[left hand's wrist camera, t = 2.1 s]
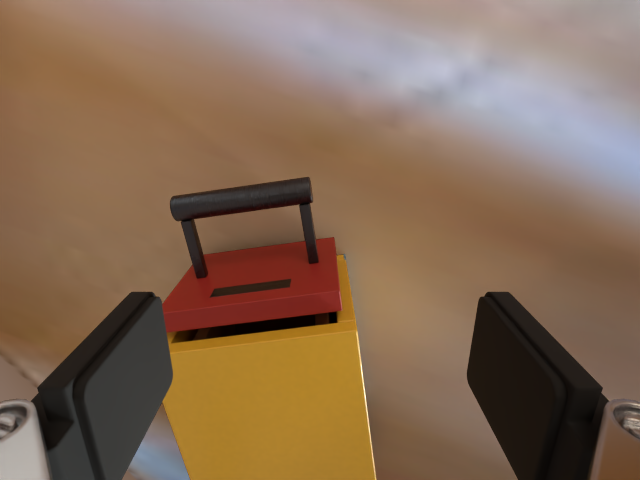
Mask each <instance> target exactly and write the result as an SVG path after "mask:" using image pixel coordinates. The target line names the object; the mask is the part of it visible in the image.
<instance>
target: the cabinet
mask: <svg viewBox="0 0 640 480" xmlns="http://www.w3.org/2000/svg"><path fill="white" fill-rule="evenodd" d="M337 264H338V273H339V282H340V291H341V301H342V311H336V312H333V319H334V323H332V324H324V325H316V326H308V327H300V328H292V329H284V330H276V331H268V332H260V333H252V334H243V335H235V336H227V337H219V338H211V339H203V340H195V341H192V340H193V338H194V337H195V335H196V333H197V331H198V329H192V330H184V331H176V332H168V333H167V338H168V344H169V350H170V357H171V363H172V369H173V380H172V384H171V386H170V388H169V390H168V392H167V394H166V396H165V398H164V399H163V401H162V403H163V405H164V408H165V411H166V414H167V416H168V419H169V422H170V425H171V427H172V430H173V433H174V436H175V439H176V441H177V444H178V447H179V450H180V452H181V455H182V458H183V461H184V464H185V466H186V469H187V472H188V475H189V477H190V480H376V474H375V466H374V458H373V450H372V442H371V434H370V427H369V419H368V411H367V403H366V395H365V387H364V379H363V371H362V363H361V356H360V348H359V340H358V332H357V326H356V320H355V314H354V307H353V301H352V295H351V289H350V283H349V277H348V271H347V265H346V258H345V254H343V255H337Z"/></svg>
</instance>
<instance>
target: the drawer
mask: <svg viewBox="0 0 640 480" xmlns="http://www.w3.org/2000/svg"><path fill="white" fill-rule="evenodd" d="M312 202H313V194H312V187H311V181H310V178H309V177H304V178H297V179H290V180H283V181H276V182H269V183H262V184H255V185H248V186H241V187H234V188H227V189H220V190H213V191H206V192H199V193H192V194H185V195H178V196H173V197H172V198H171V200H170V209H171V213H172V216H173V218H174V219H175V220H176V221H182V222H181V224H182V228H183V231H184V235H185V239H186V242H187V246H188V249H189V253H190V256H191V260H192V263H193V265H192V266H191V267H190V269H189V270H188V271H187V273H186V274H185V275H184V277H183V278H182V279H181V280H180V282H179V283H178V284H177V286H176V287H175V288H174V290H173V291H172V292H171V294H170V295H169V296H168V297H167V299H166V300H165V301H164V303H163V304H162V307H163V313H164V320H165V326H166V332H167V333H168V332H176V331H184V330H192V329H198V331H197V333H196V335H195V337H194V338H193V340H192V341H195V340H203V339H211V338H219V337H227V336H235V335H243V334H252V333H260V332H268V331H276V330H284V329H292V328H300V327H308V326H316V325H324V324H332V323H334V319H333V312H336V311H342V301H341V291H340V282H339V273H338V264H337V255H336V247H335V240H334V237H332V238H325V239H317V240H316V238H315V232H314V225H313V219H312V212H311V206H310V203H312ZM299 204H300V205H299ZM292 205H299V207H300V213H301V219H302V225H303V231H304V237H305V241H302V242H295V243H287V244H280V245H272V246H265V247H258V248H250V249H243V250H235V251H228V252H220V253H213V254H205V255H203V252H202V248H201V244H200V240H199V237H198V233H197V229H196V225H195V222H194V219H198V218H206V217H213V216H220V215H227V214H234V213H242V212H249V211H256V210H263V209H270V208H278V207H285V206H292Z"/></svg>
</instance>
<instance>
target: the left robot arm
mask: <svg viewBox="0 0 640 480" xmlns="http://www.w3.org/2000/svg"><path fill="white" fill-rule="evenodd" d="M172 380H173V369H172V363H171V357H170V350H169V344H168V338H167V332H166V326H165V320H164V313H163V307H162V302H161V299H160V297H155V294H154V293H153V292H131V293H130V294H129V295H128V296H127V297H126V298H125V299H124V300H123V301H122V302H121V303H120V304H119V305H118V306H117V307H116V308H115V309H114V310H113V311H112V312H111V313H110V314H109V315H108V316H107V317H106V318H105V319H104V320H103V321H102V322H101V323H100V324H99V325H98V326H97V327H96V328H95V329H94V330H93V331H92V332H91V333H90V334H89V335H88V337H87V338H86V339H85V340H84V341H83V342H82V343H81V344H80V345H79V346H78V347H77V348H76V349H75V350H74V351H73V352H72V353H71V354H70V355H69V356H68V357H67V358H66V359H65V360H64V361H63V362H62V363H61V364H60V365H59V366H58V367H57V368H56V369H55V370H54V371H53V372H52V373H51V374H50V375H49V376H48V377H47V378H46V379H45V380H44V381H43V382H42V383H41V384H40V386H39V387H38V388H37V389H38V392H39V393H38V394H37V395H36V396H35V397H34V398H33V399H32V400H31V401H28V400H26V399H12V400H5V401H2V402H0V480H122V478H123V476H124V474H125V472H126V470H127V468H128V467H129V465H130V463H131V461H132V459H133V457H134V455H135V453H136V451H137V449H138V447H139V445H140V444H141V442H142V440H143V438H144V436H145V434H146V432H147V430H148V428H149V426H150V424H151V422H152V421H153V419H154V417H155V415H156V413H157V411H158V409H159V407H160V405H161V403H162V401H163V399H164V398H165V396H166V394H167V392H168V390H169V388H170V386H171V384H172ZM467 380H468V384H469V386H470V388H471V390H472V392H473V394H474V396H475V398H476V399H477V401H478V403H479V405H480V407H481V409H482V411H483V413H484V415H485V417H486V419H487V421H488V422H489V424H490V426H491V428H492V430H493V432H494V434H495V436H496V438H497V440H498V442H499V444H500V445H501V447H502V449H503V451H504V453H505V455H506V457H507V459H508V461H509V463H510V465H511V467H512V468H513V470H514V472H515V474H516V476H517V478H518V480H640V402H638V401H635V400H628V399H614V400H612V401H609V400H608V399H607V398H606V397H605V396H604V395H603V394H602V393H601V392H602V389H603V388H602V387H601V386H600V384H599V383H598V382H597V381H596V380H595V379H594V378H593V377H592V376H591V375H590V374H589V373H588V372H587V371H586V370H585V369H584V368H583V367H582V366H581V365H580V364H579V363H578V362H577V361H576V360H575V359H574V358H573V357H572V356H571V355H570V354H569V353H568V352H567V351H566V350H565V349H564V348H563V347H562V346H561V345H560V344H559V343H558V342H557V341H556V340H555V339H554V338H553V337H552V335H551V334H550V333H549V332H548V331H547V330H546V329H545V328H544V327H543V326H542V325H541V324H540V323H539V322H538V321H537V320H536V319H535V318H534V317H533V316H532V315H531V314H530V313H529V312H528V311H527V310H526V309H525V308H524V307H523V306H522V305H521V304H520V303H519V302H518V301H517V300H516V299H515V298H514V297H513V296H512V295H511V294H510V293H509V292H487V293H486V294H485V297H480V299H479V302H478V307H477V313H476V320H475V326H474V332H473V338H472V344H471V350H470V357H469V363H468V369H467Z"/></svg>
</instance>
